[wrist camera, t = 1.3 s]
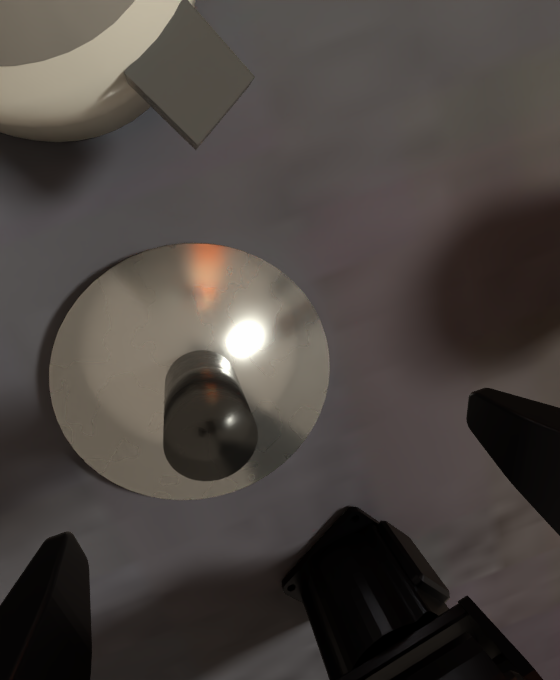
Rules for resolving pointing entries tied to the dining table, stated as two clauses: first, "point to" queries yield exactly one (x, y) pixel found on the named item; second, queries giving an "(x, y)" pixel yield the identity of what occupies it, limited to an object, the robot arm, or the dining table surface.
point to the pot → (112, 68)
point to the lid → (189, 371)
